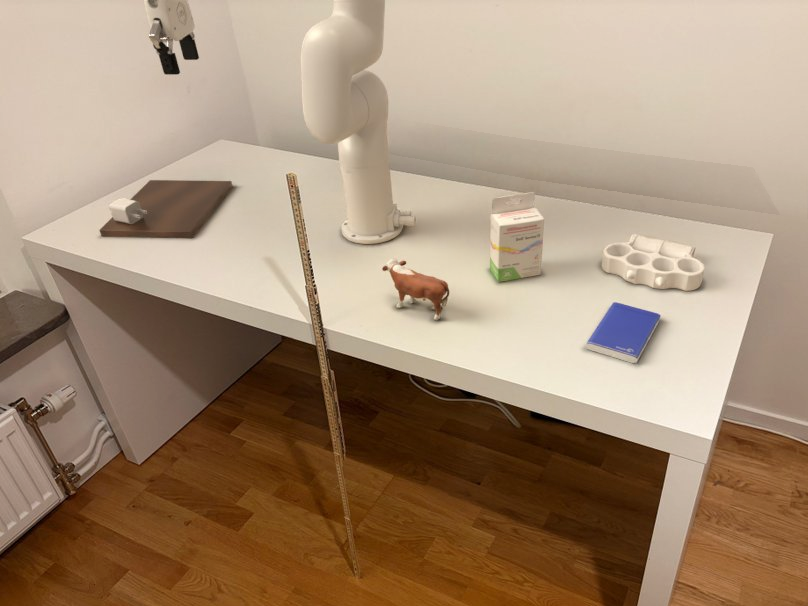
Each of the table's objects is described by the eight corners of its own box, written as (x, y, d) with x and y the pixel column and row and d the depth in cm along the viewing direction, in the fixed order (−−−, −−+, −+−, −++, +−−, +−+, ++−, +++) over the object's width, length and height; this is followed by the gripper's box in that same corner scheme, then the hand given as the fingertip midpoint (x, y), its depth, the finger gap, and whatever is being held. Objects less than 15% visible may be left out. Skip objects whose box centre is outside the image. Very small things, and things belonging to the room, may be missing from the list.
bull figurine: (394, 290, 125) (390, 251, 120) (455, 313, 119) (453, 273, 114) (378, 302, 122) (373, 262, 117) (440, 326, 116) (438, 285, 111)
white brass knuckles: (710, 261, 129) (693, 302, 119) (616, 241, 136) (592, 278, 126) (714, 245, 127) (697, 286, 117) (618, 226, 134) (594, 262, 124)
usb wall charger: (128, 213, 150) (122, 196, 147) (153, 218, 147) (147, 201, 145) (114, 222, 147) (108, 205, 145) (139, 227, 145) (133, 210, 142)
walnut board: (232, 186, 162) (231, 180, 161) (192, 238, 143) (190, 231, 142) (151, 185, 164) (150, 179, 163) (101, 236, 145) (99, 230, 144)
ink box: (497, 283, 126) (498, 210, 117) (489, 269, 130) (489, 197, 120) (542, 275, 127) (546, 202, 118) (532, 261, 131) (536, 190, 122)
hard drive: (637, 356, 106) (661, 313, 114) (586, 341, 109) (613, 301, 117) (636, 364, 107) (659, 321, 115) (585, 349, 110) (612, 308, 118)
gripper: (156, -17, 125) (182, 80, 135) (194, -35, 139) (215, 54, 149) (117, -16, 126) (146, 80, 136) (158, -34, 139) (182, 54, 150)
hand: (182, 66), depth 143 cm, fingers open, 9 cm apart
